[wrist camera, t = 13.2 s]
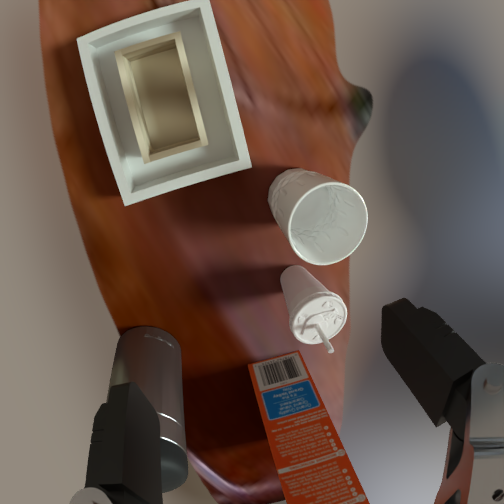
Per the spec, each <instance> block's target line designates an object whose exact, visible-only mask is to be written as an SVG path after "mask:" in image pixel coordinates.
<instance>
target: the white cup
mask: <svg viewBox="0 0 504 504" xmlns="http://www.w3.org/2000/svg"><path fill="white" fill-rule="evenodd" d="M268 203H269V206H270V209H271V212H272V214H273V216H274V218H275V220H276V222H277V224H278V225H279V227H280V229H281V231H282V232H283V234H284V235H285V237H286V239H287V240H288V242H289V244H290V245H291V247H292V249H293V250H294V252H295V253H296V254H297V255H298V256H299V257H300V258H301V259H303V260H304V261H306V262H309V263H311V264H315V265H329V264H333V263H336V262H339V261H341V260H343V259H344V258H346V257H347V256H349V255H350V254H351V253H352V252H353V251H354V250H355V249H356V248H357V247H358V245H359V244H360V242H361V241H362V239H363V237H364V234H365V232H366V228H367V222H368V214H367V208H366V205H365V202H364V200H363V198H362V197H361V195H360V194H359V193H358V192H357V191H356V190H355V189H354V188H352V187H350V186H349V185H346V184H344V183H341V182H339V181H337V180H334V179H332V178H330V177H327V176H325V175H322V174H319V173H316V172H311V171H307V170H305V169H302V168H296V169H288V170H286V171H285V172H283V173H281V174H280V175H278V176H277V177H276V178H275V180H274V181H273V183H272V184H271V186H270V188H269V194H268Z"/></svg>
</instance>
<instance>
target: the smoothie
mask: <svg viewBox="0 0 504 504" xmlns="http://www.w3.org/2000/svg"><path fill="white" fill-rule="evenodd" d="M280 282H281V286H282V290H283V293H284V297H285V301H286V304H287V308H288V312H289V316H290V320H289V325H290V329H291V331H292V332H293V334H294V336H295V337H296V339H298V340H299V341H300V342H303V343H306V344H318V343H322V342H323V343H324V345H325V347H326V348H327V350H328V352H329V353H333V352H334V349H333V347H332V346H331V344H330V342H329V339H330V338H332V337H333V336H335V335H336V334H337V333H338V332H339V331H340V330H341V328H342V327H343V325H344V324H345V321H346V318H347V309H346V306H345V304H344V303H343V300H342V299H341V298H340V297H339V296H338V295H337V294H335V293H333V292H330V291H329V290H328V289H326V288H325V287H324V286H323V285H322V284H321V283H320V282H319V281H318V280H317V279H316V278H315V277H313V276H312V275H311V274H310V273H309V272H308V271H307V270H306V269H305V268H304V267H302V266H299V265H293V266H290V267H288V268H286V269H285V270H284V271H283V273H282V274H281V277H280Z"/></svg>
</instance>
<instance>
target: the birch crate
mask: <svg viewBox="0 0 504 504" xmlns="http://www.w3.org/2000/svg"><path fill="white" fill-rule="evenodd" d="M114 53H115V57H116V62H117V66H118V70H119V74H120V78H121V82H122V86H123V90H124V94H125V98H126V102H127V106H128V109H129V113H130V117H131V120H132V124H133V127H134V131H135V135H136V138H137V141H138V145H139V148H140V152H141V155H142V158H143V162H144V164H146V163H149V162H152V161H155V160H158V159H162V158H165V157H168V156H171V155H175V154H178V153H181V152H185V151H188V150H192V149H195V148H199V147H202V146H206V145H209V144H208V140H207V136H206V132H205V128H204V124H203V120H202V116H201V112H200V109H199V105H198V101H197V97H196V93H195V89H194V85H193V81H192V77H191V73H190V69H189V65H188V61H187V57H186V53H185V49H184V45H183V41H182V37H181V32H180V31H179V32H175V33H171V34H167V35H164V36H160V37H157V38H153V39H150V40H147V41H144V42H140V43H137V44H134V45H131V46H128V47H125V48H123V49H120V50H117V51H114Z"/></svg>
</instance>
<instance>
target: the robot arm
mask: <svg viewBox="0 0 504 504" xmlns="http://www.w3.org/2000/svg"><path fill="white" fill-rule="evenodd" d="M381 344H382V348H383V351H384V353H385V355H386V357H387V358H388V360H389V361H390V363H391V364H392V365H393V366H394V368H395V369H396V371H397V372H398V373H399V375H400V376H401V378H402V379H403V381H404V382H405V383H406V385H407V386H408V387H409V389H410V390H411V392H412V393H413V395H414V396H415V397H416V399H417V400H418V402H419V403H420V405H421V406H422V407H423V409H424V410H425V412H426V413H427V415H428V416H429V418H430V419H431V420H432V422H433V423H434V425H435V426H436V427H438V426H440V425H441V424H443V423H445V422H446V421H447V422H448V423H449V425H450V426H451V428H450V432H449V440H448V448H447V455H446V461H445V467H444V473H443V479H442V483H441V486H440V489H439V491H438V493H437V496H436V499H435V502H434V504H504V365H501V364H498V363H485V362H484V361H483V360H482V359H481V358H480V357H479V356H478V355H477V353H476V352H475V351H474V350H473V349H472V348H471V347H470V346H469V345H468V344H467V343H466V342H465V341H464V340H463V339H462V338H461V337H460V336H459V335H458V334H457V333H454V330H453V329H452V328H451V327H450V326H449V325H447V324H446V322H445V321H444V320H443V319H442V318H441V317H440V316H439V315H438V314H437V313H435V312H433V311H431V310H428V309H426V308H424V307H421V308H418V309H417V308H416V307H415V306H414V305H413V304H412V303H411V302H410V301H409V300H408V299H406V298H402V299H399V300H397V301H394V302H392V303H390V304H387V305H385V306H383V308H382V328H381ZM92 431H93V433H92V436H91V444H90V450H89V457H88V466H87V475H86V483H85V488H84V489H81V490H80V491H78V492H77V493H76V494H75V495H74V496H73V497H72V499H71V501H70V504H163V499H162V493H165V492H168V491H171V490H174V489H176V488H178V487H180V486H181V485H182V484H183V483H184V482H185V481H186V479H187V475H188V461H187V450H186V437H185V425H184V409H183V391H182V365H181V349H180V346H179V344H178V342H177V341H176V339H175V338H174V337H173V336H172V335H170V334H169V333H167V332H165V331H163V330H161V329H158V328H155V327H148V326H144V327H136V328H133V329H130V330H128V331H126V332H125V333H124V334H123V335H122V336H121V337H120V338H119V341H118V343H117V348H116V353H115V358H114V363H113V368H112V374H111V379H110V385H109V390H108V396H107V402H106V403H104V404H102V405H101V406H100V408H99V410H98V412H97V413H96V415H95V418H94V423H93V430H92Z"/></svg>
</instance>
